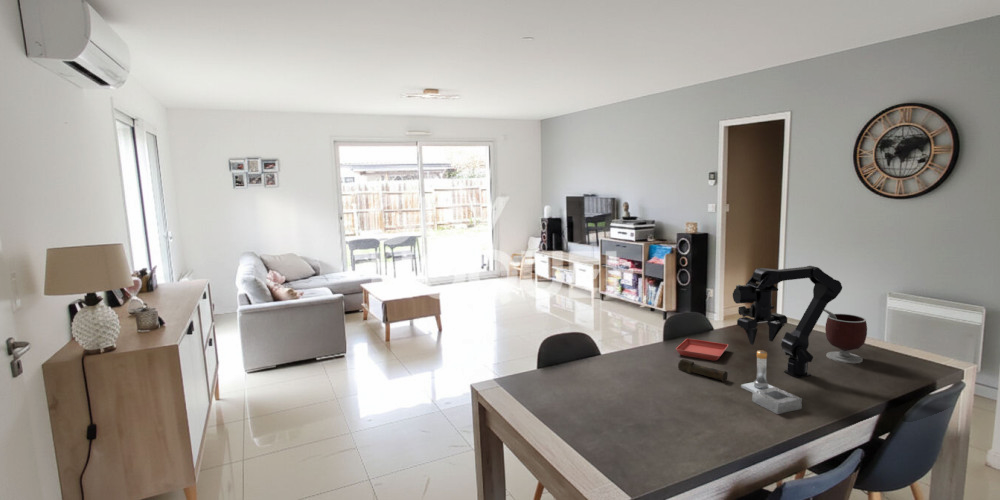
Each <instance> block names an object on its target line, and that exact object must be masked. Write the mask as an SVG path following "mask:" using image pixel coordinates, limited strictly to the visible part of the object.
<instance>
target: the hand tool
mask: <svg viewBox="0 0 1000 500" xmlns="http://www.w3.org/2000/svg"><path fill="white" fill-rule="evenodd" d="M677 368H678V369H679V370H681V371H682V372H685V373H688V374H692V373H694V374H698V375H700V376H701V375H702V376H705V377H708V378H711V379H714V380H717V381H718V380H719V381H722V382H721V383H724V382H726V381H728V380H727V379H728V374H729V373H728V371H727V370H724V371H723V370H720V369H717V368H713V367H707V366H703V365H701V364H698V363H695V362H694V361H693V360H692V361H691V360H688V359H686V358H685V359H684V358H681V359H680V360H679V362H678V363H677Z"/></svg>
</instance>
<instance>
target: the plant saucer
mask: <svg viewBox="0 0 1000 500" xmlns="http://www.w3.org/2000/svg"><path fill="white" fill-rule="evenodd" d="M728 347H729V344H728V343H722V342H721V343H720V342H714V341H708V340H700V339H694V338H686V339H684V341H683V342H681V343H680V344H679V345H678V346H677V347H676V348H675V351H677V353H678V354H680V355H681V356H684V357H690V358H697V359H700V360H701V359H702V360H708V361H714V362H715V361H718V360H719V359H720V357H721V356H722V355H723V354H724V352H726V350H727V349H728Z"/></svg>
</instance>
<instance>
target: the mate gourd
mask: <svg viewBox="0 0 1000 500" xmlns="http://www.w3.org/2000/svg"><path fill="white" fill-rule="evenodd" d="M823 312H825V313H827V317H826V322H825V337H826V340H827V341H828V343H829V344H830V345H831V346H833V347H835V348H837V349H839V351H829V352H827V353H826V356H825V357H826V358H828V359H829V360H831V359H832V360H831V361H835V362H837V363H842V364H843V363H845V364H861V363H862V362H863V360H864V359H863V358H862V356H860V355H857V354H854V353H851V352H850V351H852V350H857V349H858V350H859V349H860V348H861V347H862V346H864V344H865V343H866V340H867V339H866V338H867V335H868V325H867V319H866V318H865V317H862V316H859V315H855V314H850V313H849V314H848V313H833V312H831V311H829V310H827V309H826V308H825V309H824V310H823Z"/></svg>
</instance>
